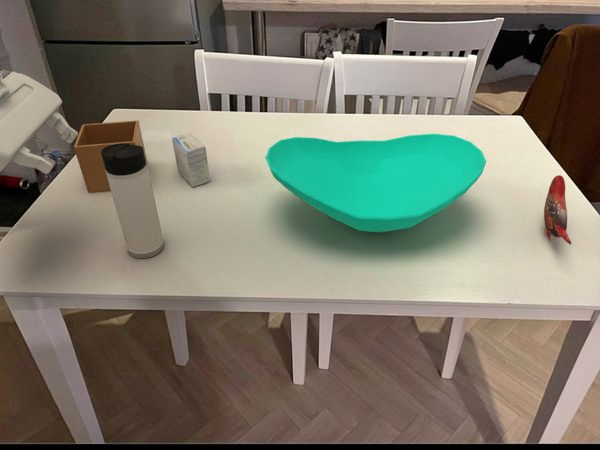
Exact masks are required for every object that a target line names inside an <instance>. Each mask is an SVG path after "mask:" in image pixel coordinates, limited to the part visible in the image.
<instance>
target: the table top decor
mask: <svg viewBox="0 0 600 450" xmlns="http://www.w3.org/2000/svg"><path fill="white" fill-rule="evenodd" d="M265 160H266V163H267V165H268V167H269V170H270V172H271V175H272V177H273V178H274V179H275V180H276V181H277V182H278V183H280V184H281V185H282V186H283V187H284V188H285V189H287V191H289V192H291V194H293V195H294V196H296V197H297V198H298V199H301V200H302V201H303V202H305V203H307V204H308V205H309V206H311V207H312V208H314V209H316V210H318V211H320V212H321V213H323V214H325V215H326V216H329V217H330V218H332V219H333V220H335V221H338V222H340V223H342V224H344V225H346V226H349V227H350V228H352V229H355V230H357V231H359V232H369V233H386V232H392V231H399V230H400V231H401V230H406V229H410V228H412V227H414V226H416V225H418V224H420V223H421V222H423V221H425V220H427V219H429V218H430V217H432V216H434V215H436V214H438V213H439V212H441V211H443V210H445V209H446V208H447V207H449V206H450V205H452V204H453V203H454V202H456V201H457V200H458V199H460V198H462V197H463V196H464V195H465V194H466V193H467V192H468V191H469V190H470V189H471V188H472V186H473V185H474V184H475V183H476V182H477V181H478V180H479V178H481V176H482V174H483V173H484V170H485V167H486V164H487V160H486V158H485V155H484V153H483V150H481V149H480V148H479V147H477V146H476V145H475V144H474V143H473V142H471V141H469V140H467V139H464V138H462V137H459V136H458V135H457V136H456V135H454V134H453V135H451V134H441V133H425V134H422V133H421V134H411V135H405V136H400V137H396V138H391V139H386V140H347V141H346V140H345V141H344V140H343V141H334V140H328V139H323V138H317V137H304V136H302V137H301V136H294V137H289V138H283V139H279V140H278V141H277V142H275V143H274V144H273V145H271V146H269V148H268V149H267V152H266V156H265Z"/></svg>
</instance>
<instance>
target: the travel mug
mask: <svg viewBox="0 0 600 450" xmlns="http://www.w3.org/2000/svg"><path fill="white" fill-rule="evenodd" d="M101 155H102V159H103V163H104V165H105V171H106V175H107V178H108V182H109V185H110V189H111V191H110V193H111V195H112V199H113V200H112V201H113V203H114V206H115V210H116V213H117V218H118V221H119V224H120V228H121V231H122V235H123V239H124V242H125V245H126V249H127V252H128V254H129V255H130V256H131V257H133V258H137V259H147V258H152V257H154V256H156V255H158V254H159V253H160V252H162V251H163V249H164V246H165V241H164V236H163V231H162V226H161V222H160V218H159V212H158V209H157V205H156V199H155V195H154V190H153V186H152V180H151V176H150V172H149V166H147V162H148V161H147V162H146V159H145V154H144V150H143V147H141V146H139V145H138V146H137V145H129V143H119V144H113V145H109V146H107V147H105V148H103V149H102V150H101Z"/></svg>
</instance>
